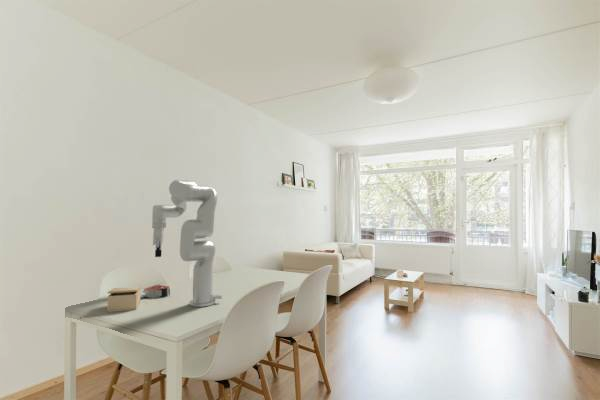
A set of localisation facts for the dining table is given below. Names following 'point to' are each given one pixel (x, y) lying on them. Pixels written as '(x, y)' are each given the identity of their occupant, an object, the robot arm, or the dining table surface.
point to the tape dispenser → (156, 291)
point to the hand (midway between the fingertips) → (158, 256)
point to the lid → (124, 290)
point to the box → (123, 301)
